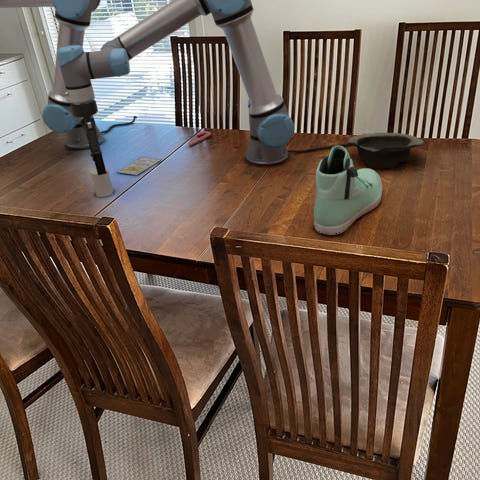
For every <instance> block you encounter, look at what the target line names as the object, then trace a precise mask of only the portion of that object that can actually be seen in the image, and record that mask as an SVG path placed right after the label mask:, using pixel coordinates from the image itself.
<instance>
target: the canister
mask: <svg viewBox="0 0 480 480" xmlns="http://www.w3.org/2000/svg"><path fill="white" fill-rule="evenodd" d="M105 168H106V172H107V174H103V175H98V174H97V170H96V168H93V169H91V171H90V176H91V179H92V183H93V188H94V192H95V196H97V197H98V198H105V197H110V196H111V195H113V193H114V190H113V189H114V188H113V185H112V181H111V177H110V172H109V169H108V167H105Z"/></svg>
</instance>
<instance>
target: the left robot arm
mask: <svg viewBox="0 0 480 480" xmlns="http://www.w3.org/2000/svg"><path fill="white" fill-rule="evenodd" d="M100 4H101V0H0V9H5V8H6V9H8V8H10V9H11V8H12V9H13V8H48V7H49V8H51V7H53V9H54V19H55V20H56V21H57V22H58V29H57V40H56V41H57V43H56V54H55V66H54V76H53V87H52V89H51V90H49V91H48V95H47V105H46V106H44V108H43V110H42V113H41V116H42V120H43V123H44V124H45V126H47V128H48V129H49V130H50V131H52V132H54V133H57V134H65V144H66V148H68V149H70V150H85V149H90V147H89V143H88V142H89V141H88V139H87V136H86V134H85V130H84V128H83V126H82V123H81V120H83V119H82V117H75V116H73V113H72V109H71V106H70V105H71V102H70V101H69V98H68V96H66V95H65V93H66V92H67V90H66V87H65V83H64V80H63V76H62V73H61V70H60V67H59V61H58V57H57V50H58V49H59V48H61V47H65V46H71V45H80V46H82V48H83V49H84V41H85V40H84V39H85V31H86V29H88V28H89V27H90V25H91V21H92V20H91V19H92V13H93V12H94V11H95V10H97V9H98V7H99V6H100ZM91 118H94V119H95V117H94V115H92V116H91ZM132 118H133V119H132V120H131V121H129V122H123V123H115V124H111V125H110V126H109V127H108V128H107V129H106V130H100V129H99V127H98V125H96V126H95V127H96V130H97V134H96V135H97V137H98V142H99V145H102V143H104V135H103V134H105V133H109V132H110V131H111V129H112V128H115V127H118V126H119V127H120V126H129V125H132V124H133V123H135V121H136V119H138V117H137V116H136V115H133V117H132Z"/></svg>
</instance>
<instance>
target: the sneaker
mask: <svg viewBox="0 0 480 480" xmlns="http://www.w3.org/2000/svg"><path fill="white" fill-rule="evenodd" d="M317 165H318V166H317V168H316V172H315V201H314V207H313V225H314V229H315V231H316V232H318V233H320V234H323V235H326V236H327V235H328V236H336V235H339V234H342V233H344V232H345V231H347V230H348V229H349V228H350V227H351V226H352V225H353V224H354V222H356V221H357V220H358V219H359V218H360V217H362V216H363V215H365V214H367V213H370V212H372V210H374V209H375V208H377V207H378V205H380V203H381V200H382V196H383V184H382V183H383V182H382V179H381V176H380V175H379V173H378V172H377V171H376V170H374V169H373V168H369V167H368V168H367V167H365V168H358V169H357V168H355V167H354V161H353V159H352V158H351V156H350V153H349V152H348V150H347V148H345V146H334V147H333V148H330V151H329V154H327V155H326V156H325V157H324V158H322V159H321V160H320V161H319V163H318V164H317ZM343 230H344V231H343ZM319 231H320V232H319ZM322 232H323V233H322ZM339 232H340V233H339ZM326 233H327V234H326ZM328 233H329V234H328ZM335 233H337V234H335Z"/></svg>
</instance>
